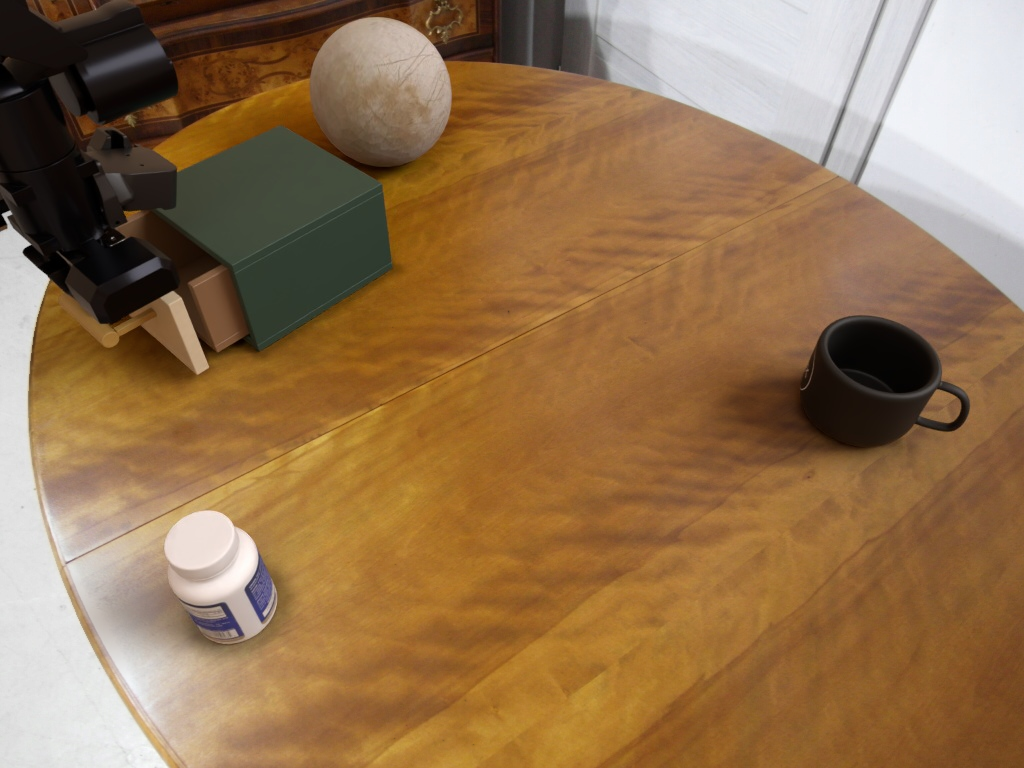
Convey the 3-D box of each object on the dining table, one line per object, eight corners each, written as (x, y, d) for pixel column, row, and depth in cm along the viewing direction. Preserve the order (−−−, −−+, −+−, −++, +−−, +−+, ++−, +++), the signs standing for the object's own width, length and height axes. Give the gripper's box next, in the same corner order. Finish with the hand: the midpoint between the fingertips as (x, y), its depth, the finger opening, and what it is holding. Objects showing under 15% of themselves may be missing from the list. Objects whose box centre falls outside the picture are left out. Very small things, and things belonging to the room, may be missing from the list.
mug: (779, 430, 62) (805, 369, 57) (808, 360, 68) (834, 299, 63) (934, 491, 59) (978, 432, 53) (952, 412, 64) (993, 352, 59)
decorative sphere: (448, 119, 94) (442, -10, 83) (460, 189, 85) (454, 53, 73) (323, 126, 93) (300, -4, 82) (320, 198, 83) (293, 61, 72)
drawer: (145, 407, 62) (109, 337, 56) (63, 328, 68) (23, 257, 62) (334, 291, 72) (320, 221, 66) (248, 231, 77) (228, 162, 72)
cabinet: (259, 352, 67) (231, 265, 60) (167, 277, 74) (132, 191, 67) (393, 268, 75) (382, 183, 68) (299, 208, 82) (281, 124, 75)
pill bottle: (251, 557, 54) (217, 484, 47) (293, 608, 51) (264, 538, 45) (181, 607, 51) (135, 537, 45) (222, 663, 49) (180, 597, 42)
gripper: (214, 154, 52) (265, 324, 63) (75, 64, 60) (143, 229, 72) (52, 227, 46) (141, 399, 58) (-76, 117, 54) (24, 287, 66)
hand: (114, 320), depth 63 cm, fingers closed, pressing on drawer
